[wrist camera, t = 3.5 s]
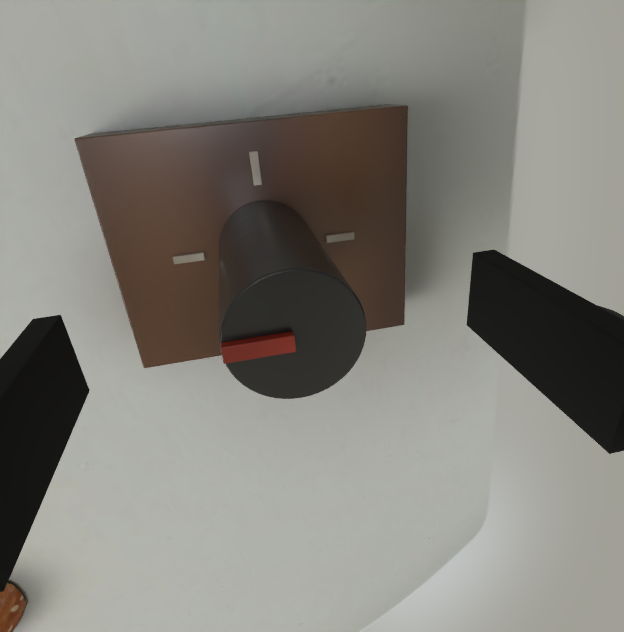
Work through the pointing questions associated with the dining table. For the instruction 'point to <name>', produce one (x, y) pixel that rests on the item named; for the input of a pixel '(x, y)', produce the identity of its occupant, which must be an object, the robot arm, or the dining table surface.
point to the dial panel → (237, 191)
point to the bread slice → (11, 608)
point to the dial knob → (284, 305)
